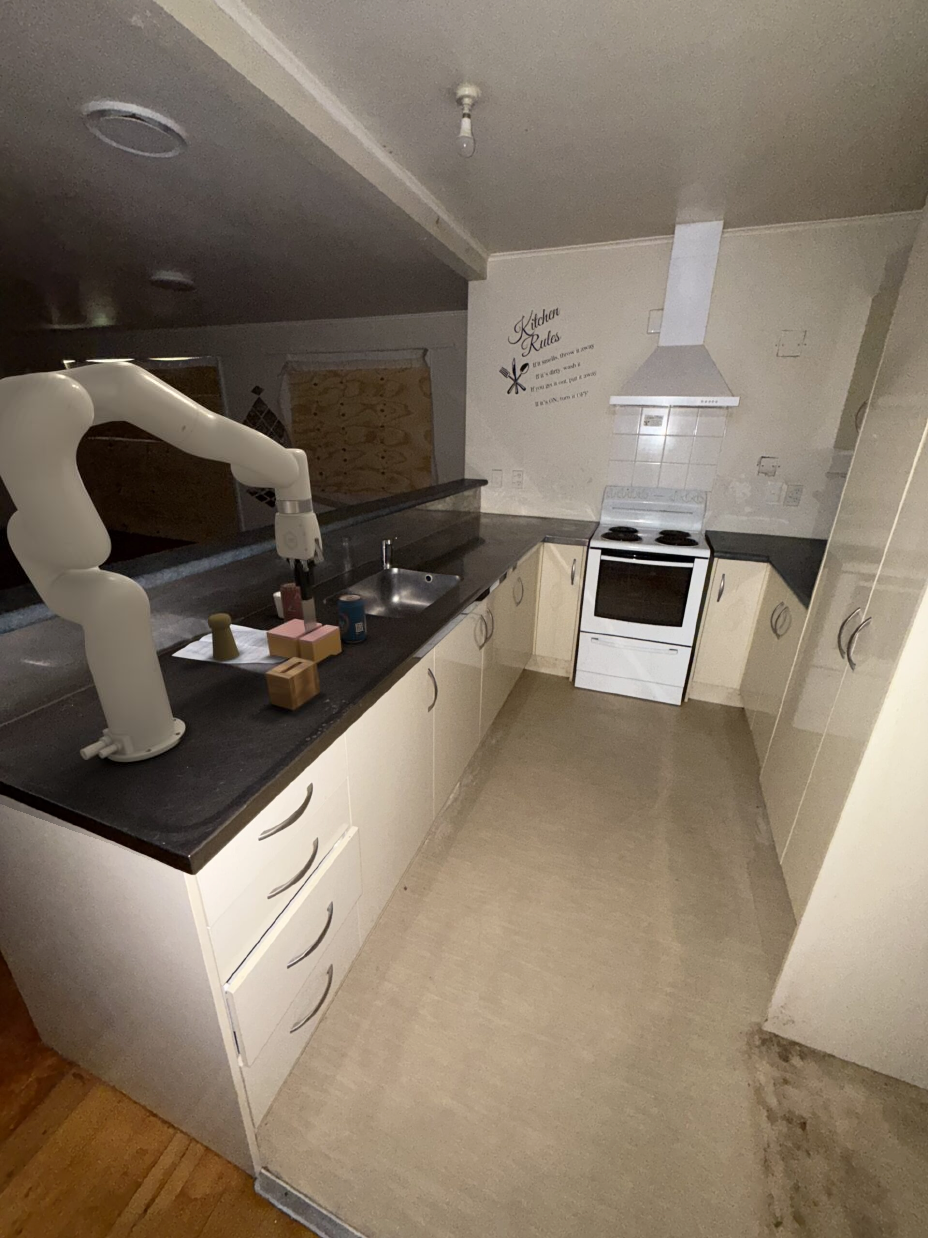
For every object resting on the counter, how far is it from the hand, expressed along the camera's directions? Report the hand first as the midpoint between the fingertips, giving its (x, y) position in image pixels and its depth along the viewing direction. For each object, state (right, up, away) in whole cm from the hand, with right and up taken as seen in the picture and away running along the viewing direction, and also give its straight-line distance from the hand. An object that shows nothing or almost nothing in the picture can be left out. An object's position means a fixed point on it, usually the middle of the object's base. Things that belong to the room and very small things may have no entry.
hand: (305, 585), depth 115 cm
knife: (0, -14, +5) cm, 15 cm away
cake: (-5, -17, +9) cm, 19 cm away
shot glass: (-17, -7, +34) cm, 39 cm away
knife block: (+3, -25, -14) cm, 29 cm away
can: (-9, -12, +22) cm, 27 cm away
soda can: (+8, -14, +17) cm, 23 cm away
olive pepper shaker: (-22, -18, +7) cm, 29 cm away
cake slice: (+2, -18, +6) cm, 19 cm away
